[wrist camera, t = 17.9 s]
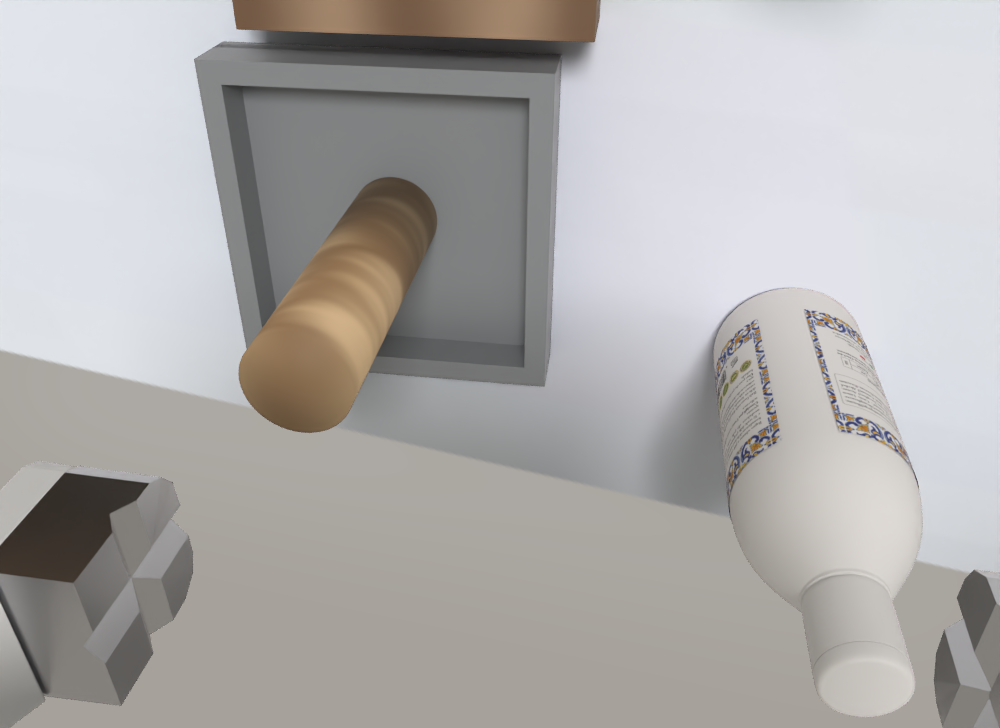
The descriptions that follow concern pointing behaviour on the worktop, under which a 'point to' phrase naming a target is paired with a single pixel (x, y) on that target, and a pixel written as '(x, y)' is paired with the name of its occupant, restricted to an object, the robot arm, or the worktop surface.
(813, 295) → the bath foam
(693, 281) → the worktop surface
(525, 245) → the tray
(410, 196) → the dowel
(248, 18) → the holder
